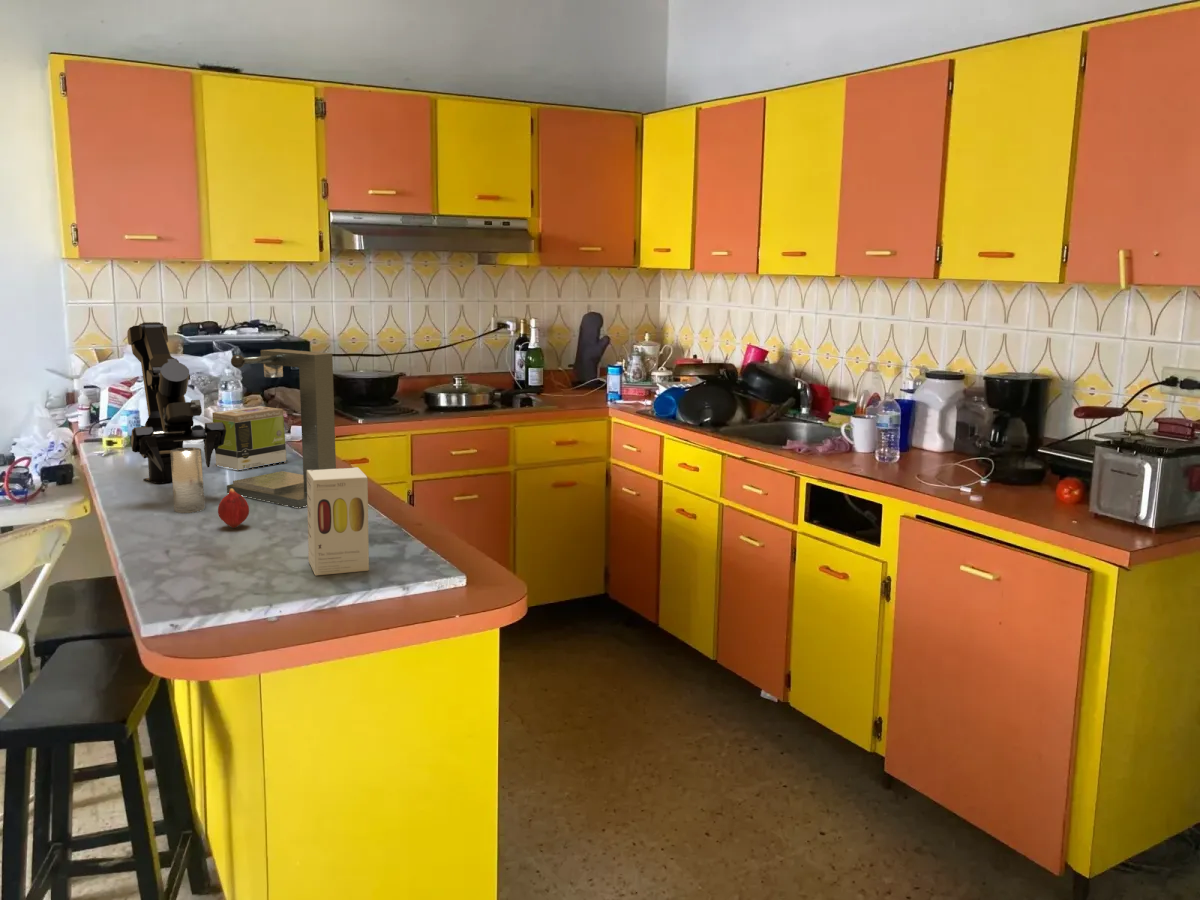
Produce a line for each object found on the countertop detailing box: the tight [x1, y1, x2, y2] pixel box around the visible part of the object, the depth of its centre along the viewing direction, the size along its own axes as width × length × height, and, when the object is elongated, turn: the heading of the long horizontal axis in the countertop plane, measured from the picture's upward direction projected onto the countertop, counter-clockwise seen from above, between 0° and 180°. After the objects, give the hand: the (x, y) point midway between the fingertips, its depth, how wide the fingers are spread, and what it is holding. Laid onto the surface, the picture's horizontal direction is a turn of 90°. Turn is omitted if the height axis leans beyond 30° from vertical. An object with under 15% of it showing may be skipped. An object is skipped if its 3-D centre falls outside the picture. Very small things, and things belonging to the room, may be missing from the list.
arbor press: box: [226, 348, 337, 508], centre depth 220 cm, size 24×22×33 cm
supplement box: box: [306, 466, 370, 576], centre depth 171 cm, size 10×9×17 cm
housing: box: [170, 446, 206, 514], centre depth 209 cm, size 6×6×13 cm
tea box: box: [212, 405, 287, 470], centre depth 257 cm, size 15×10×15 cm, turn 144°
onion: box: [217, 489, 250, 529], centre depth 196 cm, size 6×6×8 cm
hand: (186, 468), depth 210 cm, fingers open, 9 cm apart
